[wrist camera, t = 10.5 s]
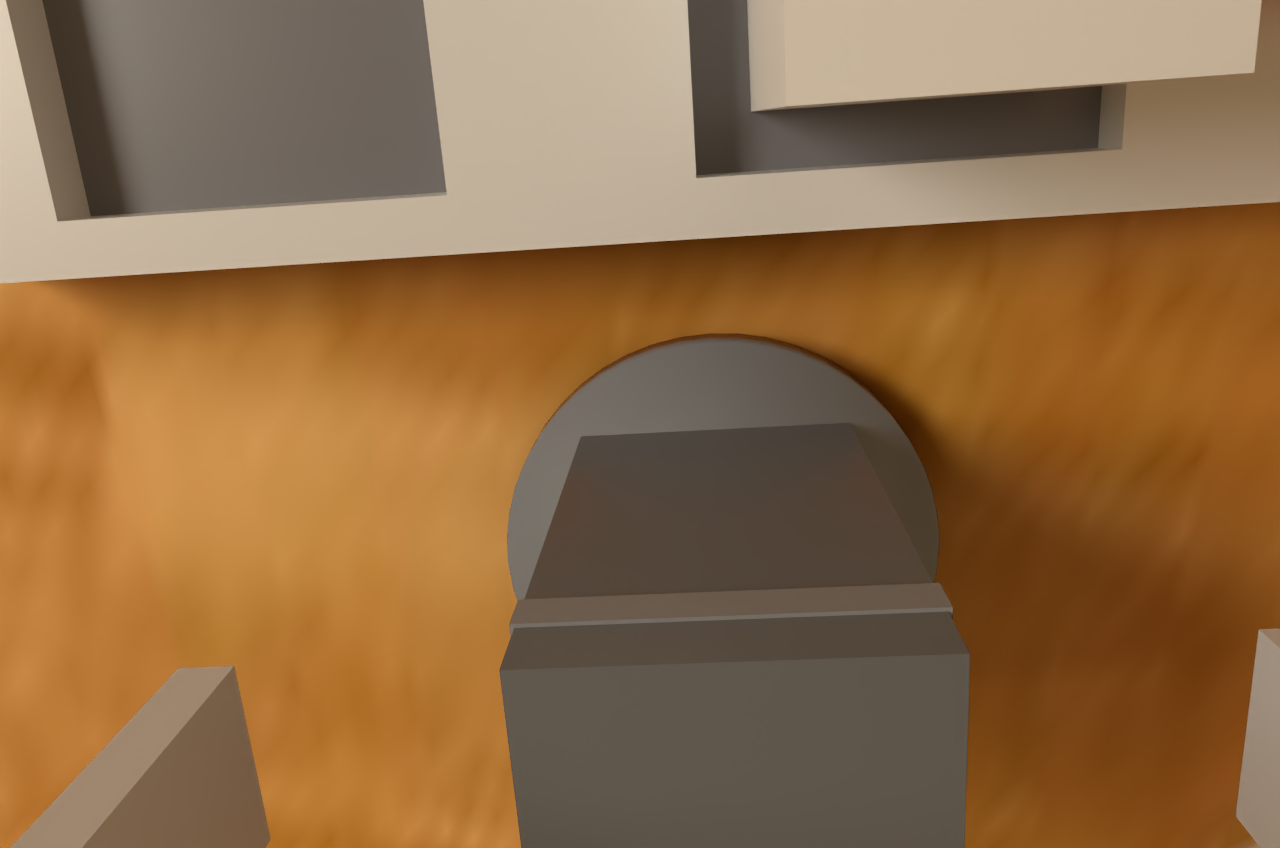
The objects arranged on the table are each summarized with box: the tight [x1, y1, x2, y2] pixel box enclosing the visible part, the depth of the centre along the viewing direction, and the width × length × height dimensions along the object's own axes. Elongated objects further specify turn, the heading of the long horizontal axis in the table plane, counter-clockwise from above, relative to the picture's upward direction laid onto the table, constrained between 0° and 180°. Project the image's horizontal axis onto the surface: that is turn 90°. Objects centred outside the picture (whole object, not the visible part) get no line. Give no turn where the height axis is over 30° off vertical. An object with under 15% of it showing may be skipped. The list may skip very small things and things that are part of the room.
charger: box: [500, 423, 970, 848], centre depth 15 cm, size 5×5×8 cm
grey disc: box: [507, 334, 939, 601], centre depth 19 cm, size 8×8×1 cm
